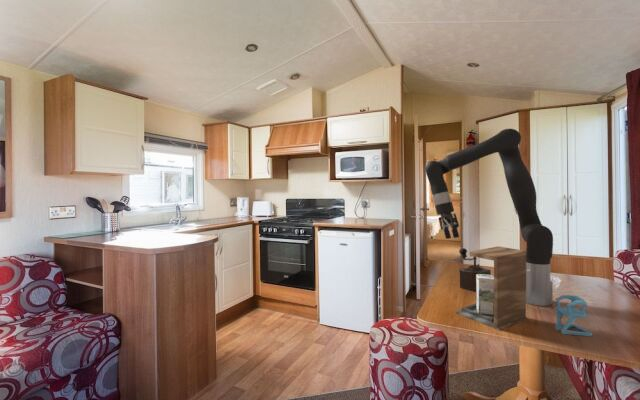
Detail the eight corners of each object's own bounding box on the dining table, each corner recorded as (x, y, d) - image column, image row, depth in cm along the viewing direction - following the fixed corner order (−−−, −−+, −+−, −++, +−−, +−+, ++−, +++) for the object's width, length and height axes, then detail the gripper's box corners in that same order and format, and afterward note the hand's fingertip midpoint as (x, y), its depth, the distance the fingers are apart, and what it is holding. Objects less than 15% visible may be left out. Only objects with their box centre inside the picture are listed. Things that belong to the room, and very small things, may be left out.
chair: (550, 326, 109) (550, 292, 108) (574, 325, 108) (574, 292, 108) (567, 337, 101) (567, 301, 100) (593, 336, 101) (593, 300, 100)
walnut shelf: (455, 312, 122) (455, 249, 120) (483, 303, 130) (483, 244, 129) (498, 329, 107) (498, 257, 106) (526, 318, 115) (526, 250, 114)
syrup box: (492, 310, 122) (492, 274, 121) (495, 316, 116) (495, 278, 116) (476, 308, 124) (476, 273, 123) (478, 314, 118) (478, 277, 118)
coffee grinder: (492, 288, 148) (492, 251, 148) (480, 293, 142) (480, 255, 141) (462, 281, 161) (461, 247, 161) (449, 285, 155) (449, 250, 154)
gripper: (457, 199, 134) (467, 235, 131) (444, 204, 148) (453, 237, 145) (441, 202, 134) (450, 239, 131) (429, 207, 148) (438, 240, 145)
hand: (452, 238), depth 138 cm, fingers open, 8 cm apart
